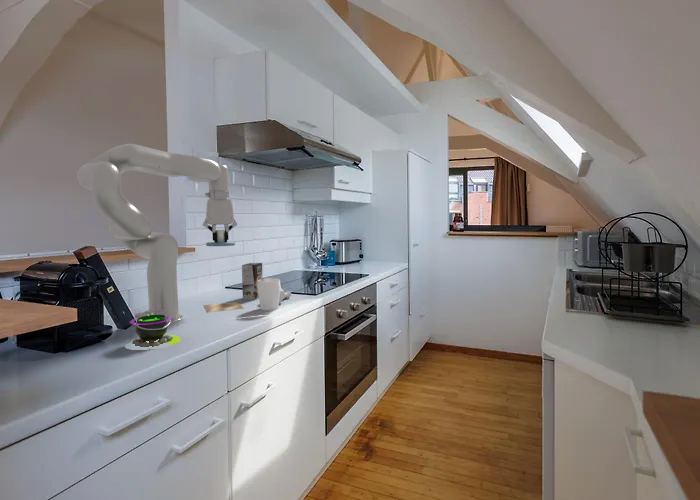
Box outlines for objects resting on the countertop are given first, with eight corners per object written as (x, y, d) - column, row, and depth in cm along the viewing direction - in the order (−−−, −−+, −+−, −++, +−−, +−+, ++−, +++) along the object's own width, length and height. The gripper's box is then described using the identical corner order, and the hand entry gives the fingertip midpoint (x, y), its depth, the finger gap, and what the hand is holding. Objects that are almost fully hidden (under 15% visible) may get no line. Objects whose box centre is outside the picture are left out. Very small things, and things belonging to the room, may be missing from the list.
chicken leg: (298, 300, 182) (292, 283, 184) (281, 300, 165) (275, 281, 167) (282, 307, 184) (277, 290, 186) (263, 307, 167) (257, 288, 169)
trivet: (207, 313, 155) (207, 312, 155) (203, 306, 167) (203, 305, 167) (244, 309, 161) (244, 308, 161) (237, 303, 174) (237, 301, 173)
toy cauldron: (148, 354, 109) (146, 314, 109) (111, 347, 116) (109, 309, 115) (191, 338, 123) (189, 303, 122) (155, 333, 129) (154, 299, 128)
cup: (276, 312, 155) (275, 282, 154) (254, 312, 157) (253, 281, 156) (284, 307, 164) (283, 278, 163) (263, 307, 166) (262, 278, 165)
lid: (208, 246, 155) (207, 230, 154) (204, 245, 165) (204, 229, 164) (237, 245, 160) (236, 229, 159) (232, 244, 169) (231, 229, 169)
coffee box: (256, 301, 177) (255, 264, 176) (242, 301, 178) (241, 264, 177) (263, 297, 186) (262, 262, 185) (250, 297, 187) (249, 262, 186)
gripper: (198, 195, 154) (199, 243, 155) (241, 196, 161) (243, 242, 162) (196, 196, 160) (198, 242, 162) (238, 196, 167) (239, 241, 169)
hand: (220, 241), depth 162 cm, fingers closed on lid, 3 cm apart
